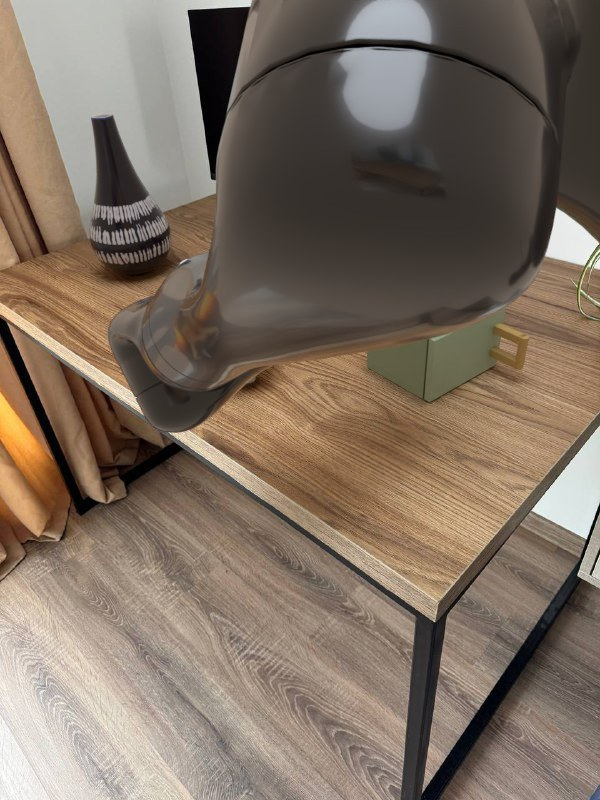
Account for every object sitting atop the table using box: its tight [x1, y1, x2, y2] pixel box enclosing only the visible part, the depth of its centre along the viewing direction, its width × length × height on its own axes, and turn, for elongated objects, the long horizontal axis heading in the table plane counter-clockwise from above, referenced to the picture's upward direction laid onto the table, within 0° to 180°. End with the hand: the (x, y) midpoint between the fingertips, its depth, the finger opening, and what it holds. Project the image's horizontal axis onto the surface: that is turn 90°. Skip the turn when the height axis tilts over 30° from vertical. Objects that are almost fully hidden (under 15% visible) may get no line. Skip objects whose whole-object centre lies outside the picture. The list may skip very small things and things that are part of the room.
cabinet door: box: [423, 307, 530, 403], centre depth 78 cm, size 6×14×10 cm, turn 127°
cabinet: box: [366, 339, 429, 400], centre depth 84 cm, size 11×14×10 cm
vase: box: [88, 112, 173, 277], centre depth 113 cm, size 16×16×30 cm
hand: (448, 243), depth 61 cm, fingers closed on can, 6 cm apart
